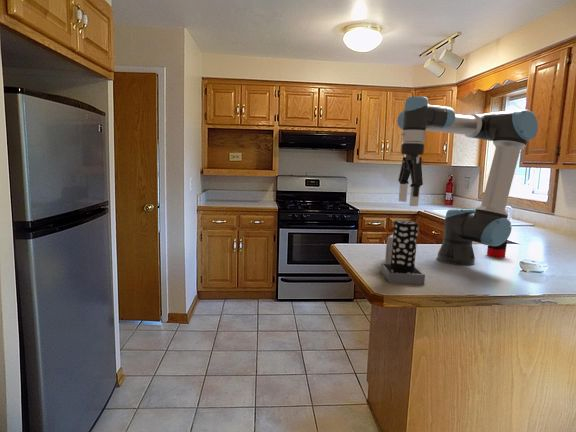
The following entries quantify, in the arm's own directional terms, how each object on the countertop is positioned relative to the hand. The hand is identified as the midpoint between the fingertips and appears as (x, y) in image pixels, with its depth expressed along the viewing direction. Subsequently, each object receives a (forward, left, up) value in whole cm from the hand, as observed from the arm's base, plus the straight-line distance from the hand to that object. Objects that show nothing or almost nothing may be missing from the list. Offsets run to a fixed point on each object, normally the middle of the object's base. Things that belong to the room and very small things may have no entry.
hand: (407, 203), depth 135 cm
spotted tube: (0, 0, -27) cm, 27 cm away
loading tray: (0, 0, -28) cm, 28 cm away
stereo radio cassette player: (-5, -19, -28) cm, 34 cm away
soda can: (-56, -41, -28) cm, 75 cm away
